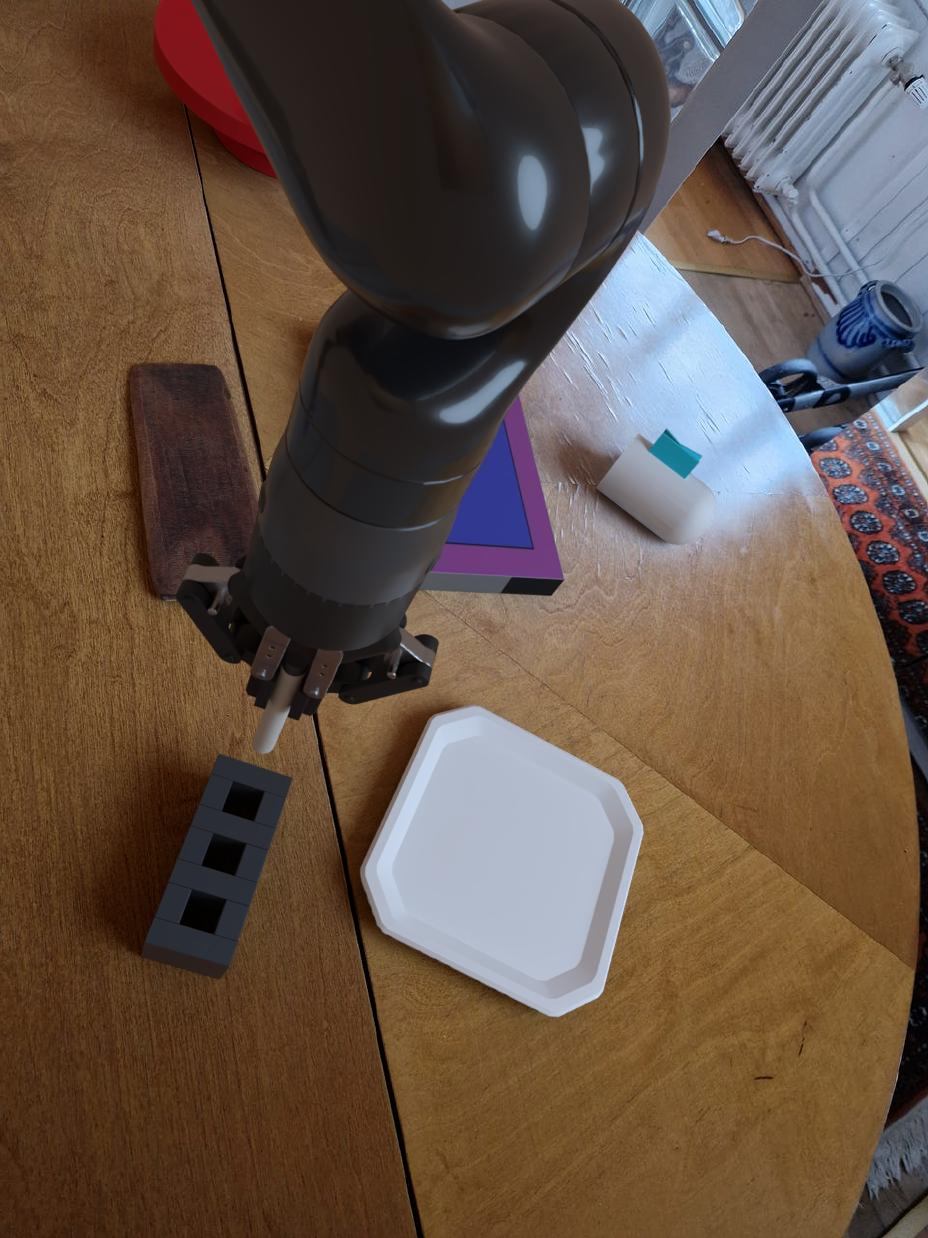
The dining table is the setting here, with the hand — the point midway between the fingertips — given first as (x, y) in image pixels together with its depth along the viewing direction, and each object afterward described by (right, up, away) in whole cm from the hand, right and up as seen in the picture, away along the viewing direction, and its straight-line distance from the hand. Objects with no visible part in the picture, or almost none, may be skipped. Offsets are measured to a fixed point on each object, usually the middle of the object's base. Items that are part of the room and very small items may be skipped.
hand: (280, 698), depth 51 cm
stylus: (-2, -3, +6) cm, 7 cm away
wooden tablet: (-14, +17, +30) cm, 37 cm away
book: (+7, +20, +40) cm, 45 cm away
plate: (+13, -15, +22) cm, 29 cm away
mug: (+31, +17, +48) cm, 60 cm away
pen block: (-7, -14, +13) cm, 20 cm away
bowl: (-12, +63, +58) cm, 87 cm away
